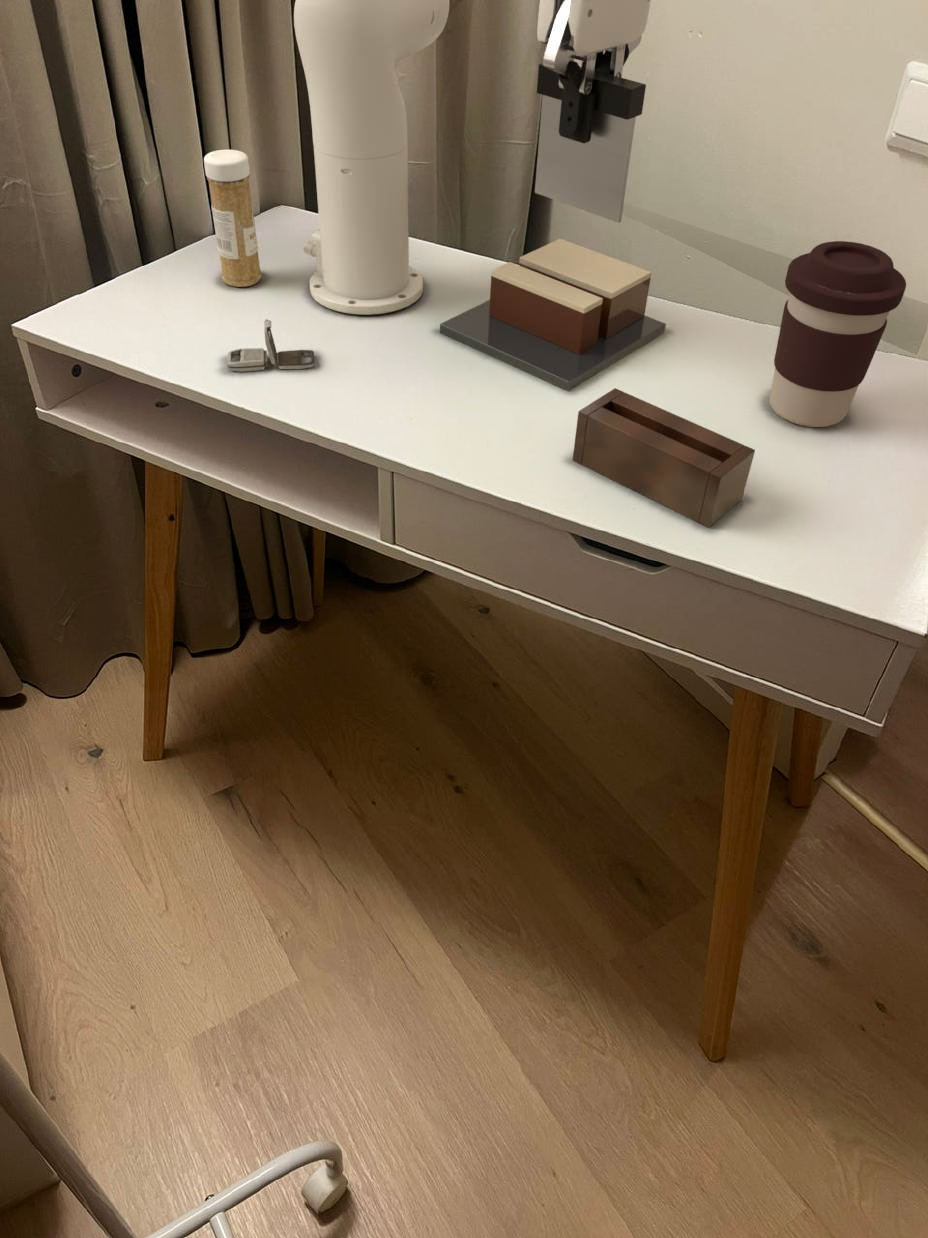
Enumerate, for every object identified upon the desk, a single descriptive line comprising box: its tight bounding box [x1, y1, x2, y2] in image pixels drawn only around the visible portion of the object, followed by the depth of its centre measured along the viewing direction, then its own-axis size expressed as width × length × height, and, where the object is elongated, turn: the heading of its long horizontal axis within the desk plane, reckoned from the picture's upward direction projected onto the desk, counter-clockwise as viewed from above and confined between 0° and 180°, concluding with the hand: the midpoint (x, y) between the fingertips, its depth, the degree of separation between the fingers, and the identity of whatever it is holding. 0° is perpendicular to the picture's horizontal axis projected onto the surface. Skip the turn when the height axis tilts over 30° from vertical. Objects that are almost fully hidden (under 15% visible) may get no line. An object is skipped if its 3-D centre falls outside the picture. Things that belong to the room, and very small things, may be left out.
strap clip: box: [226, 319, 316, 373], centre depth 97 cm, size 8×3×4 cm, turn 98°
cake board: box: [439, 238, 667, 392], centre depth 103 cm, size 17×17×6 cm
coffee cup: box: [769, 240, 907, 428], centre depth 90 cm, size 10×10×15 cm
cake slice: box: [489, 261, 603, 355], centre depth 102 cm, size 12×3×5 cm, turn 48°
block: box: [572, 387, 756, 528], centre depth 84 cm, size 14×5×5 cm, turn 48°
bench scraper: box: [534, 62, 647, 224], centre depth 90 cm, size 10×2×11 cm, turn 48°
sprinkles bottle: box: [203, 149, 263, 288], centre depth 108 cm, size 5×5×13 cm
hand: (584, 133), depth 89 cm, fingers closed on bench scraper, 2 cm apart
